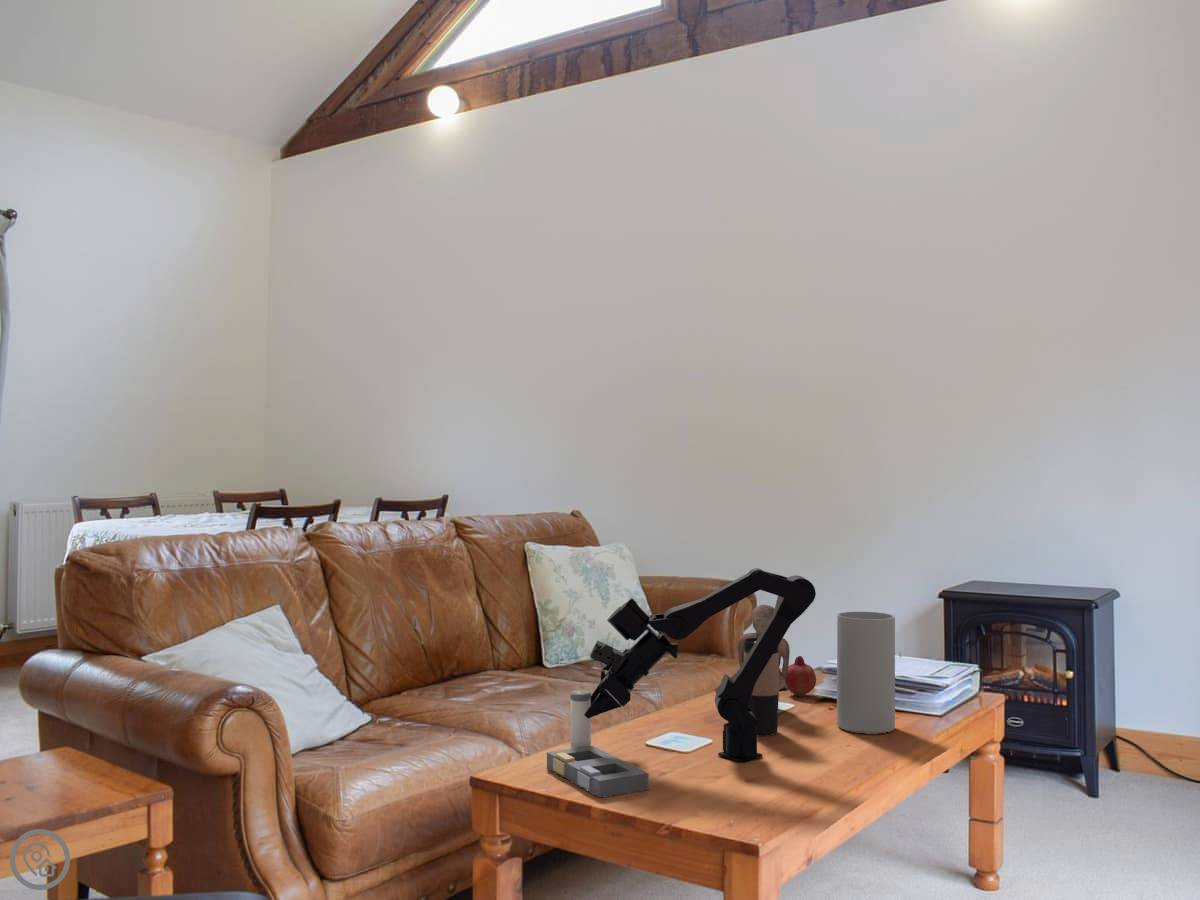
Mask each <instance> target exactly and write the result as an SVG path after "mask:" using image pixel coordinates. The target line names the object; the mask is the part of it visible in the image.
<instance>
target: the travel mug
mask: <svg viewBox="0 0 1200 900" xmlns="http://www.w3.org/2000/svg"><path fill="white" fill-rule="evenodd" d="M757 639H758V638H748V639H745V640H744V660H745V659H746V657H747V655H748V654H749V652H750V650H751V649H752V647H753V645H754V644H755V642H756V640H757ZM779 668H780V666H779V663H778V647H777V648H776V650H775V651H774V653H773V655H772V656H771V658H770V660H769V661H768V663H767V665H766V666H765V668H764V670H763V671H762V673H761V675H760V676H759V678H758V680H757V681H756V683H755V686H754V690H753V693H752V697H751V700H750V703H749V705H748V707H749V708H750V709H751V710H752V712H753V714H754V715H755V717H756V719H757V721H758V722H757V725H756V727H757V735H771V736H773V735H772V734H775V735H777V734H778V727H779V726H778V723H779V700H780V699H779V694H780V692H779ZM776 733H777V734H776Z"/></svg>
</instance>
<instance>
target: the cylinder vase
mask: <svg viewBox="0 0 1200 900" xmlns="http://www.w3.org/2000/svg"><path fill="white" fill-rule="evenodd" d="M836 619H837V620H836V660H837V661H836V724H837V726H838V727H839V728H840V729H842V730H843V729H844V730H843V731H846V732H849V731H850V733H853V732H856V733H855V734H859V733H869V734H868V735H880V734H879V733H884V734H887V733H886V732H888V733H891V732H893V731H894V730H895V727H896V615H895V614H890V613H884V612H877V611H876V612H875V611H845V612H843V611H842V612H839V613H837V614H836ZM876 733H878V734H876Z"/></svg>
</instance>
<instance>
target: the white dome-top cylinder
mask: <svg viewBox="0 0 1200 900" xmlns="http://www.w3.org/2000/svg"><path fill="white" fill-rule="evenodd" d="M569 695H570V698H569V699H570V749H573V748H580V747H587V746H592V740H591V739H592V736H591V735H592V734H591V732H592V731H591V728H592V727H591V725H592V724H591V722H592V721H591V718H592V717H591V718H587V717H586V716H585V715H584V714H585V712H586V711H587V710H588V708H589V707H590V705H591V695H592V693H591V691H587V690H574V691H571V692H570V694H569Z"/></svg>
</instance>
